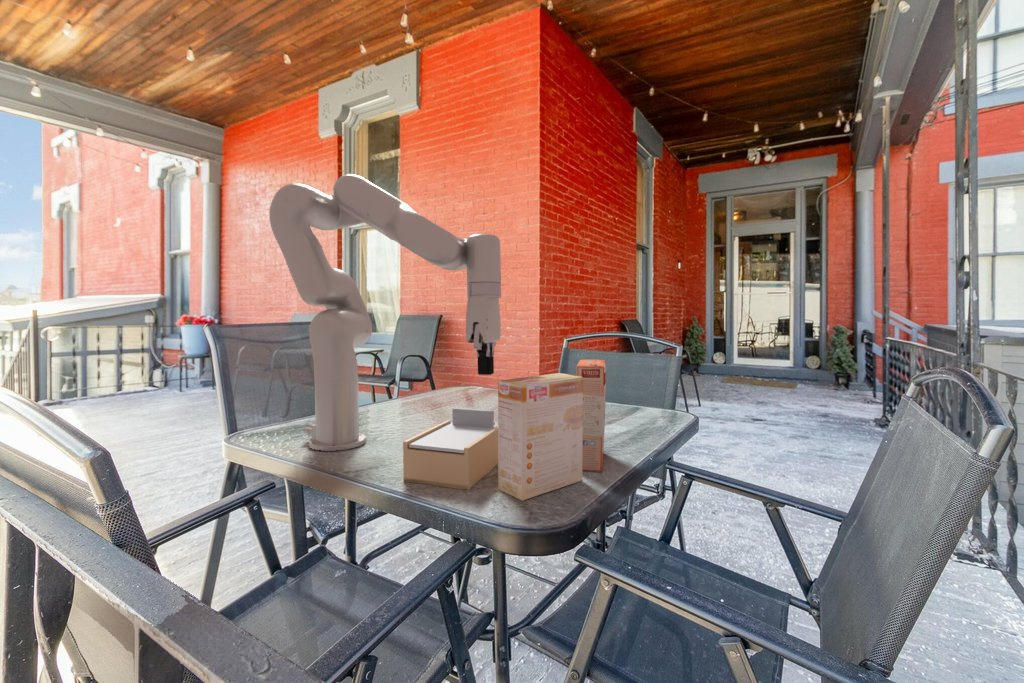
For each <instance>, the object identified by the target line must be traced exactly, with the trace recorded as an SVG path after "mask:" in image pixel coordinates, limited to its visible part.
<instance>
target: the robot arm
mask: <svg viewBox="0 0 1024 683" xmlns="http://www.w3.org/2000/svg"><path fill="white" fill-rule="evenodd" d="M332 187H333V188H332V193H333V194H331V195H329V194H326V193H324V192H323V191H320V190H318V189H315V188H314V187H311V186H309V185H306V184H302V183H298V182H297V183H289V184H286V185H284V186H282V187H281V188H280V189H278V190H277V192H275V194H274V196H273V198H272V200H271V202H270V207H269V222H270V223H269V224H270V229H271V231H272V233H273V236H274V238H275V240H276V242H277V244H278V246H279V249H280V251H281V254H282V255H283V258H284V260H285V262H286V266H287V268H288V271H289V273H290V275H291V277H292V280H293V283H294V285H295V287H296V290H297V292H298V294H299V297H300V298H301V300H302V301H303V302H304V303H305V304H307V305H309V306H313V307H322V308H323V307H325V309H324V310H322V311H319V312H318V313H316V315H314V317H313V318H312V320H311V322H310V323H309V327H308V328H309V330H308V335H309V336H308V337H309V343H310V347H311V351H312V359H313V374H314V375H313V377H314V378H313V379H314V416H315V417H314V418H315V423H313V422H312V423H311V422H310V423H308V424H307V426H306V427H304V429H303V433H305V434H311V438H310V440H308V447H309V448H310V449H311V448H312V450H314V449H315V450H314V451H319V450H321V451H322V452H336V450H338V451H344V450H350V449H354V448H357V447H361V446H362V445H364V444H365V443H366V442H367V436H366V435H365V434H363V433H360V420H359V419H360V413H359V412H360V411H359V408H360V406H359V405H360V404H359V372H358V371H359V370H358V368H359V367H358V359H357V356H356V353H355V348H357V347H360V346H363V345H364V344H366V343H367V342H369V340H370V338H371V337H372V332H373V324H372V320H371V316H370V314H369V312H368V310H367V307H366V305H365V302H364V299H363V298H362V295H361V293H360V291H359V289H358V286H357V284H356V282H355V280H354V279H353V277H352V276H351V275H350V274H349V273H347V272H346V271H344V270H342V269H339V268H336V267H332V265H330V263H329V261H328V258H327V256H326V255H325V251H324V249H323V246H322V245H321V242H320V241H319V239H318V238H317V237H316V235H315V234H314V232H313V231H312V229H311V228H313V229H314V228H315V229H317V230H321V231H335V230H339V229H344V228H347V227H351V226H356V225H361V224H366V225H368V226H369V227H371V228H373V229H375V230H376V231H377V232H379V233H380V234H382V235H383V236H385V237H387V238H388V239H390V240H391V241H394V242H396V243H397V244H399V245H401V246H402V247H404V248H406V249H407V250H409V251H410V252H412V253H414V254H415V255H417V256H418V257H420V258H422V259H423V260H425V261H426V262H428V263H430V264H431V265H433V266H435V267H438V268H441V269H444V270H447V271H453V272H456V271H462V270H466V295H467V297H466V298H467V301H466V302H467V303H466V313H465V314H466V315H465V341H466V342H467V343H468V344H472V345H473V346H472V347H473V350H476V356H477V374H478V375H480V376H481V375H484V376H490V375H493V374H494V373H495V372H494V370H495V368H494V366H495V365H494V362H495V361H494V358H495V357H494V356H495V347H496V346H497V342H498V341H499V340H500V339H501V335H502V334H501V333H502V332H501V330H502V328H501V326H502V324H501V312H500V311H501V309H500V300H499V299H501V298H502V270H501V268H502V263H501V261H502V259H501V258H502V257H501V240H500V238H499V237H498V236H497V235H495V234H492V233H477V234H472V235H469V236H468V237H467V238H461V237H459V236H456V235H455V234H454V233H451V232H450V231H448V230H446V229H445V228H444V227H441V226H440V225H438V224H436V223H435V222H433V221H431V220H430V219H428V218H426V217H425V216H423V215H422V214H419V213H418V212H417V211H416V210H414V209H412V207H411V206H410V205H409V204H407V203H405V202H404V201H402V200H401V199H399V198H397V196H396V197H395V196H394V195H392V194H391V193H389V192H388V191H386V190H384V189H383V188H381V187H379V186H378V185H376V184H374V183H372V182H371V181H369V180H368V179H365V178H364V177H363V176H361V175H357V174H352V173H348V174H343V175H341V176H340V177H339V178H338V179H336V181H335V183H334V185H333V186H332ZM321 451H320V452H321Z"/></svg>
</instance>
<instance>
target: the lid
mask: <svg viewBox="0 0 1024 683" xmlns="http://www.w3.org/2000/svg"><path fill="white" fill-rule="evenodd" d="M494 413H495V411H494V410H493V409H492V410H491V409H481V408H480V409H479V408H464V407H453V408H452V415H451V416H452V422H451V423H450V424H448V425H446V426H444V427H443V428H441V429H439V430H437V431H435V432H433V433H431V434H429V435H427V436H425V437H423V438H421V439H419V440H417V441H415V442H413V443H411V444H409V447H410V448H419V449H428V450H437V451H446V452H456V453H464V448H465V447H466V446H468V445H469V444H471V443H472V442H474V441H475V440H477V439H478V438H480V437H481V436H483V435H485V434H486V433H488V432H489V431H491V430H492V429H494V428H495V427H496V426H495V424H494V423H495V419H494V418H495V416H494V415H495V414H494Z"/></svg>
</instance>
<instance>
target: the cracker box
mask: <svg viewBox="0 0 1024 683" xmlns="http://www.w3.org/2000/svg"><path fill="white" fill-rule="evenodd" d="M575 368H576V371H575V373H576V374H575V376H580V377H583V451H582V453H583V455H582V472H583V471H584V472H595V473H598V472H599V473H602V472H603V464H604V452H605V451H604V449H605V448H604V447H605V427H606V426H605V424H606V399H607V398H606V393H607V365H606V360H605V359H588V358H587V359H580V360H579V361H578V362H577V365H576V367H575Z"/></svg>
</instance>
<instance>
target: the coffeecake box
mask: <svg viewBox="0 0 1024 683" xmlns="http://www.w3.org/2000/svg"><path fill="white" fill-rule="evenodd" d="M497 421H498V422H497V423H498V425H497V426H498V464H497V468H498V470H497V474H498V476H497V477H498V478H497V479H498V480H497V482H498V487H497V488H498V489H497V490H499V491H501V492H502V493H504V494H505V493H506V494H508V495H509V496H512V497H513V498H516V500H520V501H523V502H524V501H526V500H530V499H531V498H534V497H538V496H540V495H543V494H546V493H549V492H550V493H551V492H552V491H555V490H558V489H562V488H564V487H567V486H570V485H572V484H576V483H579V482H582V481H583V470H582V455H583V453H582V451H583V377H580V376H576V375H572V374H569V373H563V372H562V373H561V372H557V373H549V374H548V373H547V374H541V375H533V376H522V377H517V378H516V377H515V378H508V379H499V380H498V381H497Z"/></svg>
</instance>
